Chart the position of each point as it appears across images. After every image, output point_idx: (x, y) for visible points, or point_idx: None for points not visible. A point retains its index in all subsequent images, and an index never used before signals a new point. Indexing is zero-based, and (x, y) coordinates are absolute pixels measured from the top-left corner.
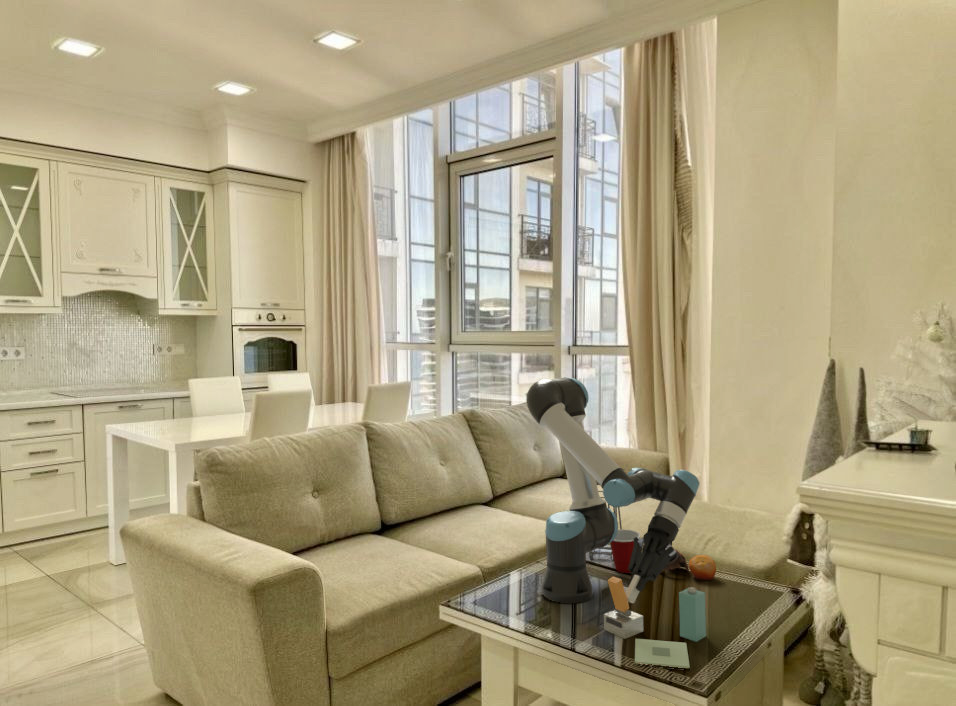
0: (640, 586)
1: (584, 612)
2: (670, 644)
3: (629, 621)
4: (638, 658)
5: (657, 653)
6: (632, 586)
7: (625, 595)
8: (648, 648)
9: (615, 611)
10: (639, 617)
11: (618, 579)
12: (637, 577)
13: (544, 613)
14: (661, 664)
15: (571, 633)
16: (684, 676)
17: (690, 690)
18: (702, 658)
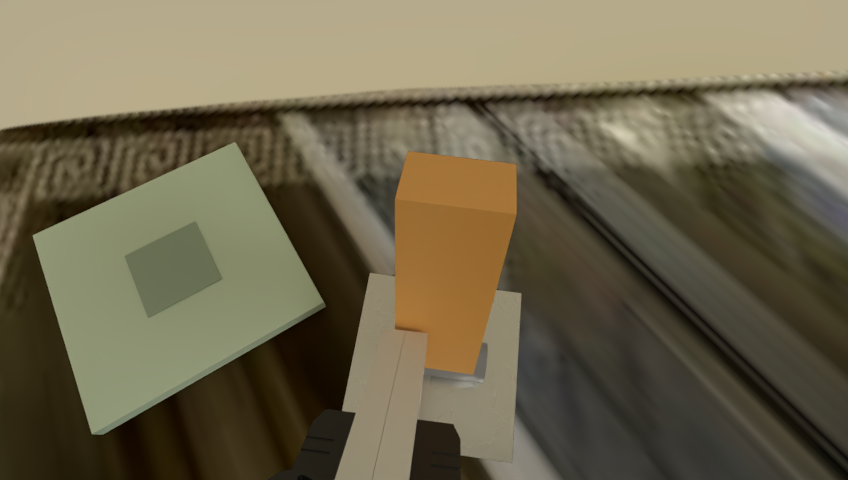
0: (309, 431)
1: (727, 426)
2: (158, 360)
3: (362, 312)
4: (232, 165)
5: (179, 240)
6: (381, 392)
7: (395, 301)
8: (232, 258)
9: (499, 372)
10: (344, 400)
11: (425, 192)
12: (352, 474)
13: (824, 271)
14: (141, 185)
15: (576, 194)
16: (54, 191)
17: (18, 130)
18: (7, 368)
